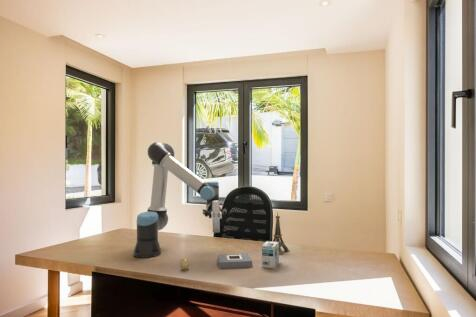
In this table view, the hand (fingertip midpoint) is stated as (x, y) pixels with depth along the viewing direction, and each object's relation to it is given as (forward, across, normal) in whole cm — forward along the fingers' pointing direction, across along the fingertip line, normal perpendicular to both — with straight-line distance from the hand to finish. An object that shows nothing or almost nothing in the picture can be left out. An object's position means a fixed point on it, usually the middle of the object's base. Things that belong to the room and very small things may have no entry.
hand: (216, 216), depth 159 cm
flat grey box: (-4, -9, -25) cm, 27 cm away
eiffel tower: (-22, -37, -26) cm, 50 cm away
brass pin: (+2, +16, -25) cm, 30 cm away
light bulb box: (+1, -27, -26) cm, 37 cm away
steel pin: (-5, 0, -9) cm, 10 cm away
